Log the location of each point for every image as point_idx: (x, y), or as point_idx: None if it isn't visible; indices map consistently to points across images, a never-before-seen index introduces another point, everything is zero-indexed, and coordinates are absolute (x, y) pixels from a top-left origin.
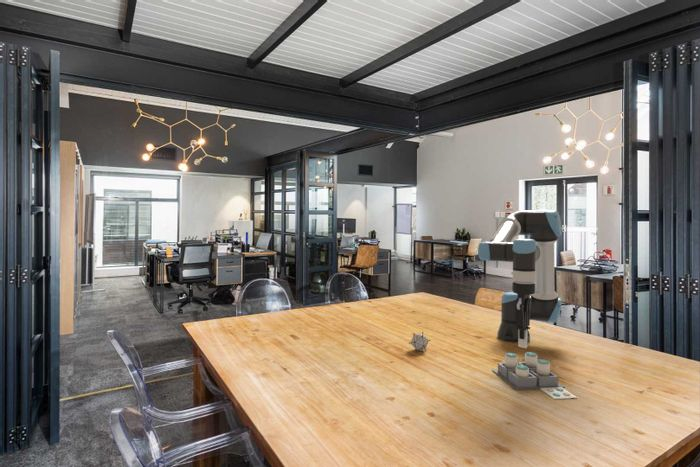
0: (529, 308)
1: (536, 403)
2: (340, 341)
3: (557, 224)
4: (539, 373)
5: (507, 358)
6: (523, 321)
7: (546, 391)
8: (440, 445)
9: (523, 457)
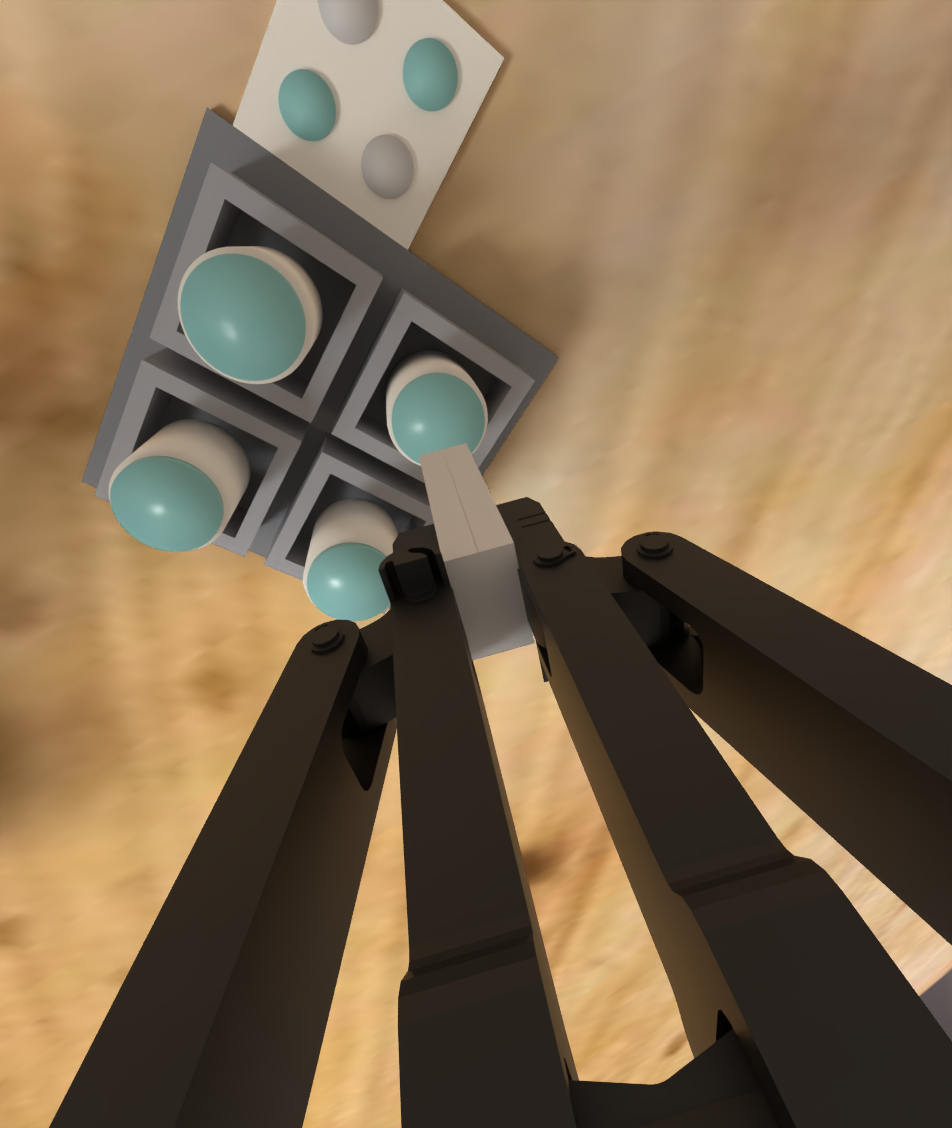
0: (441, 1030)
1: (660, 136)
2: (611, 1001)
3: None
4: (320, 314)
5: None
6: (791, 617)
7: (428, 180)
8: None
9: None
